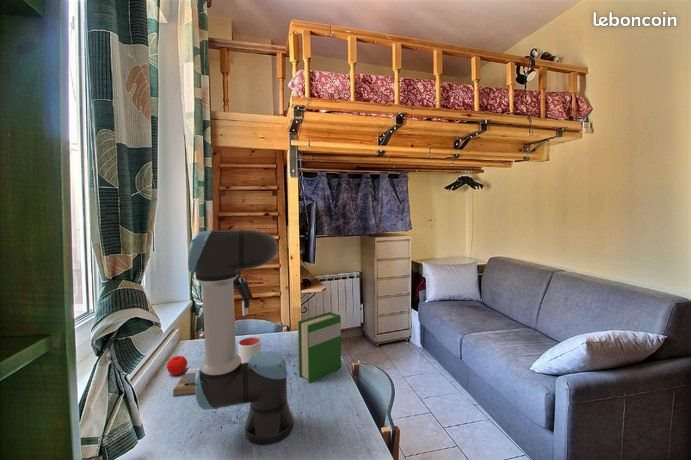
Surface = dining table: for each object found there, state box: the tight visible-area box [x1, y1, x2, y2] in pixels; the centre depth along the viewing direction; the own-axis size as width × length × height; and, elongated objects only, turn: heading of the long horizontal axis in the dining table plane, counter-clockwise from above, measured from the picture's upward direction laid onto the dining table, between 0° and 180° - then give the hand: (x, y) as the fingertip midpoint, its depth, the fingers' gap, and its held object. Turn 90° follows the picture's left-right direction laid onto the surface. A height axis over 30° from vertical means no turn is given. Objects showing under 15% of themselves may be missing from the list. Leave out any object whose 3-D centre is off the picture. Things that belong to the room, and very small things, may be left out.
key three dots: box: [185, 366, 201, 384], centre depth 125 cm, size 5×5×4 cm
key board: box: [172, 375, 196, 397], centre depth 127 cm, size 11×28×2 cm, turn 99°
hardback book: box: [297, 311, 342, 384], centre depth 136 cm, size 18×7×24 cm, turn 133°
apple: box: [166, 355, 188, 376], centre depth 137 cm, size 8×8×7 cm
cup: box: [237, 337, 262, 363], centre depth 146 cm, size 10×10×10 cm
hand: (233, 313), depth 139 cm, fingers open, 13 cm apart
